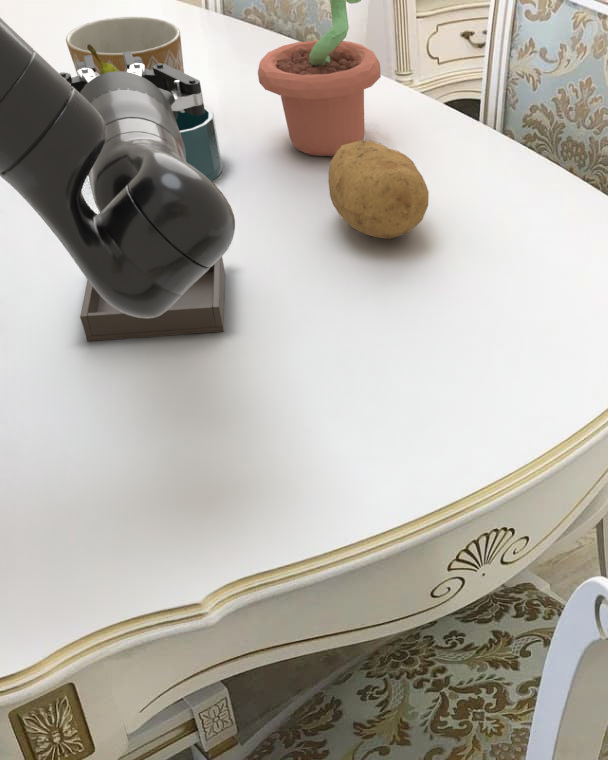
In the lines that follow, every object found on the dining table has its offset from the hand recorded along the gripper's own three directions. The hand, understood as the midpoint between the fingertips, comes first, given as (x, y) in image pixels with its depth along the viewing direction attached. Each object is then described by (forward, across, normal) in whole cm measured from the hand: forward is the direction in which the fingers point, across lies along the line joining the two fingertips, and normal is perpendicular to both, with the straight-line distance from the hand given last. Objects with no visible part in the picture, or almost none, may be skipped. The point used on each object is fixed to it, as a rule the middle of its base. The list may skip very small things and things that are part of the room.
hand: (109, 65), depth 95 cm
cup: (+24, -6, +19) cm, 31 cm away
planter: (+37, -3, +19) cm, 42 cm away
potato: (+3, -23, +20) cm, 31 cm away
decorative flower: (+27, -23, +19) cm, 40 cm away
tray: (-6, 0, +19) cm, 20 cm away
